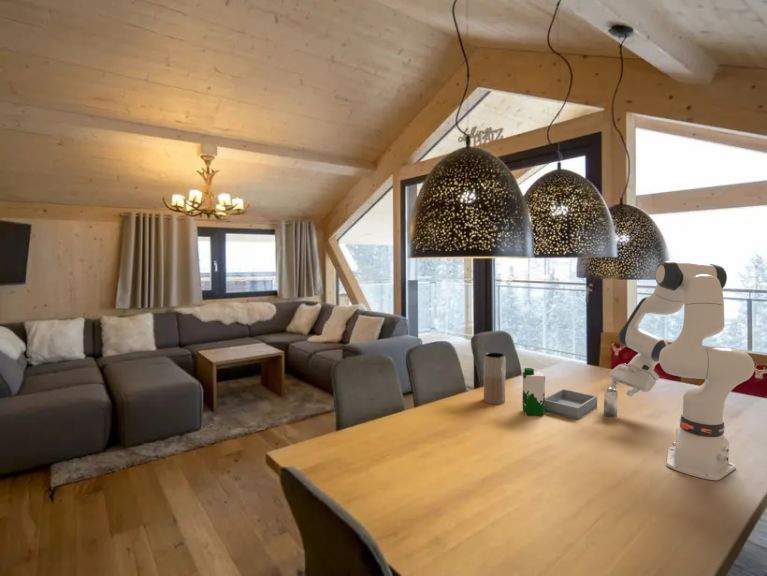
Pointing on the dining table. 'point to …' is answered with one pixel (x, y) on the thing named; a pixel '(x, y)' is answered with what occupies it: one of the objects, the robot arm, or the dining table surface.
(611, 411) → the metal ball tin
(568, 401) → the bin
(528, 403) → the milk carton
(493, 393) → the planter
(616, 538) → the dining table surface
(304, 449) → the dining table surface
